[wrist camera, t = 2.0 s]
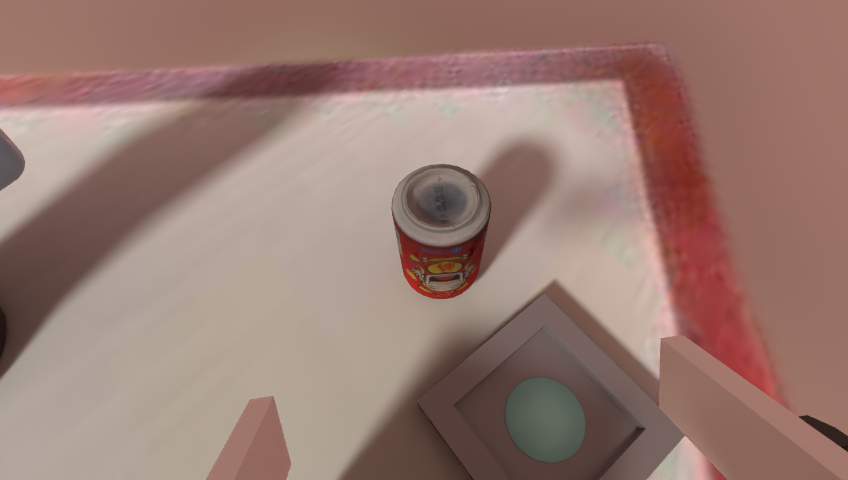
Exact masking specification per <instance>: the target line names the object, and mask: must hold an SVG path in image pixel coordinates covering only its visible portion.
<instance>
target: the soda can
mask: <svg viewBox="0 0 848 480" xmlns="http://www.w3.org/2000/svg"><path fill="white" fill-rule="evenodd" d="M490 212H491V202H490V197H489V194H488V191H487V189H486V188H485V186H484V184H483V183H482V182H481V181H480V180H479V179H478V178H477V177H476V176H475V175H473V174H472V173H470V172H469V171H468V170H465V169H462V168H460V167H458V166H453V165H447V164H439V165H429V166H425V167H422V168H420V169H417V170H415V171H413V172H412V173H410V174H409V175H408V176H407V177H405V178H404V179H403V180H402V181H401V182H400V183H399V185H398V186H397V188H396V190H395V193H394V196H393V199H392V215H393V220H394V225H395V231H396V236H397V241H398V247H399V252H400V258H401V263H402V268H403V272H404V275H405V277H406V279H407V281H408V283H409V284H410V285H411V287H412V288H414V289H415V290H416V291H417V292H418V293H420V294H422V295H424V296H427V297H430V298H434V299H448V298H452V297H455V296H457V295H459V294H462V293H463V292H464V291H465V290H467V289H468V288H469V287H470V286H471V285H472V284H473V282H474V280H475V278H476V276H477V274H478V271H479V266H480V261H481V256H482V251H483V246H484V241H485V236H486V232H487V228H488V222H489V218H490Z"/></svg>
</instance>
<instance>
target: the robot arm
mask: <svg viewBox="0 0 848 480" xmlns="http://www.w3.org/2000/svg"><path fill="white" fill-rule="evenodd" d="M24 167H25V160H24V157H23V154H22V153H21V151H20V150H19V149H18V148H17V146H16V145H15V144H14V143H13V142H12V141H11V140H10V138H9V137H8V136H7V135H6V134H5V133H4V132H3V131H2V130H1V129H0V191H1V190H2V189H4V188H5V187H7V186H8V185H10V184H11V183H12V182H14V181H15V180H17V179H18V178H19V177H20V175H21V174H22V172H23V170H24ZM4 339H5V320H4V315H3V312H2V310H1V308H0V355H1V351H2V348H3V344H4ZM659 408H660V409H661V410H662V411H663V412H664V413H665V415H666V416H667V417H668V418H669V419H670V420H671V421H672V422H673V423H674V424H675V425H676V426H677V427H678V428H679V429H680V430H681V431H682V432H683V433H684V435H685V436H686V437H687V438H688V439H689V440H690V441H691V442H692V443H693V444H694V445H695V446H696V447H697V448H698V449H699V450H700V451H701V452H702V453H703V454H704V456H705V457H706V458H707V459H708V460H709V461H710V462H711V463H712V464H713V465H714V466H715V467H716V468H717V469H718V470H719V471H720V472H721V473H722V474H723V476H724V477H725V478H726V479H727V480H848V436H847V435H845V434H844V433H842V432H841V431H839V430H838V429H836V428H834V427H833V426H830V425H828V424H826V423H824V422H821V421H819V420H817V419H815V418H813V417H810V416H807V415H806V416H799V417H797V416H796V415H795V414H793V413H792V412H790V411H789V410H788V409H786V408H785V407H783V406H782V405H781V404H779V403H778V402H776V401H775V400H773V399H772V398H771V397H769V396H768V395H766V394H765V393H764V392H762V391H761V390H759V389H758V388H757V387H755V386H754V385H752V384H751V383H750V382H748V381H747V380H745V379H744V378H742V377H741V376H740V375H738V374H737V373H735V372H734V371H733V370H731V369H730V368H728V367H727V366H726V365H724V364H723V363H721V362H720V361H719V360H717V359H716V358H714V357H713V356H711V355H710V354H709V353H707V352H706V351H704V350H703V349H702V348H700V347H699V346H697V345H696V344H695V343H693V342H692V341H690V340H689V339H688V338H686V337H685V336H683V335H680V336H673V337H667V338H661V348H660V380H659ZM290 466H291V461H290V458H289V454H288V450H287V446H286V442H285V438H284V435H283V431H282V427H281V423H280V419H279V416H278V412H277V408H276V404H275V400H274V396H271V397H265V398H258V399H251V400H250V401H249V403H248V404H247V406H246V408H245V410H244V412H243V414H242V415H241V417H240V419H239V421H238V423H237V424H236V426H235V428H234V430H233V432H232V433H231V435H230V437H229V439H228V441H227V443H226V444H225V446H224V448H223V450H222V452H221V453H220V455H219V457H218V459H217V461H216V463H215V464H214V466H213V468H212V470H211V472H210V473H209V475H208V477H207V479H206V480H286V479H287V475H288V472H289V469H290Z"/></svg>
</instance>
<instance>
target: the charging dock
mask: <svg viewBox="0 0 848 480" xmlns="http://www.w3.org/2000/svg"><path fill="white" fill-rule="evenodd" d="M417 404H418V405H419V407H420V408H421V409H422V411H423V412H424V414H425V415H426V416H427V418H428V419H429V420H430V422H431V423H432V424H433V426H434V427H435V429H436V430H437V431H438V433H439V434H440V435H441V437H442V438H443V439H444V441H445V442H446V444H447V445H448V446H449V448H450V449H451V450H452V452H453V453H454V455H455V456H456V457H457V459H458V460H459V461H460V463H461V464H462V465H463V467H464V468H465V470H466V471H467V472H468V474H469V475H470V476H471V478H472V479H473V480H646V479H647V478H648V477H649V476H650V475H651V474H652V472H653V471H654V470H655V469H656V468H657V467H658V466H659V464H660V463H661V462H662V461H663V460H664V459H665V458H666V456H667V455H668V454H669V453H670V452H671V451H672V450H673V449H674V447H675V446H676V445H677V444H678V443H679V442H680V441H681V439H682V438H683V437H684V436H685V435H684V433H683V432H682V431H681V430H680V429H679V428H678V427H677V426H676V425H675V424H674V423H673V422H672V421H671V420H670V419H669V418H668V417H667V416H666V415H665V413H664V412H663V411H662V410H661V409H660V408H659V406H658V405H657V404H656V403H655V402H654V401H653V400H652V399H651V398H650V397H649V396H648V395H647V394H646V393H645V392H644V391H643V390H642V389H641V388H640V387H639V386H638V385H637V384H636V383H635V382H634V381H633V380H632V379H631V378H630V377H629V376H628V375H627V374H626V373H625V372H624V371H623V370H622V369H621V368H620V367H619V366H618V365H617V364H616V363H615V362H614V361H613V360H612V359H611V358H610V357H609V356H608V355H607V354H606V353H605V352H604V351H603V350H602V349H601V348H600V347H598V346H597V345H596V344H595V343H594V342H593V341H592V340H591V339H590V338H589V337H588V336H587V335H586V334H585V333H584V332H583V331H582V330H581V329H580V328H579V327H578V326H577V325H576V324H575V323H574V322H573V321H572V320H571V319H570V318H569V317H568V316H567V315H566V314H565V313H564V312H563V311H562V310H561V309H560V308H559V307H558V306H557V305H556V304H555V303H554V302H553V301H552V300H551V299H550V298H549V297H548V296H547V295H546V294H545V293H544V294H543V295H541V296H540V297H539V298H538V299H537V300H535V301H534V302H533V303H532V304H531V305H529V306H528V307H527V308H526V309H525V310H524V311H522V312H521V313H520V314H519V315H518V316H516V317H515V318H514V319H513V320H512V321H511V322H509V323H508V324H507V325H506V326H505V327H503V328H502V329H501V330H500V331H499V332H497V333H496V334H495V335H494V336H493V337H492V338H490V339H489V340H488V341H487V342H486V343H484V344H483V345H482V346H481V347H480V348H478V349H477V350H476V351H475V352H474V353H473V354H471V355H470V356H469V357H468V358H467V359H465V360H464V361H463V362H462V363H461V364H460V365H458V366H457V367H456V368H455V369H454V370H452V371H451V372H450V373H449V374H448V375H446V376H445V377H444V378H443V379H442V380H441V381H439V382H438V383H437V384H436V385H435V386H433V387H432V388H431V389H430V390H429V391H427V392H426V393H425V394H424V395H423V396H422V397H420V398H419V399H418V400H417Z"/></svg>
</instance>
